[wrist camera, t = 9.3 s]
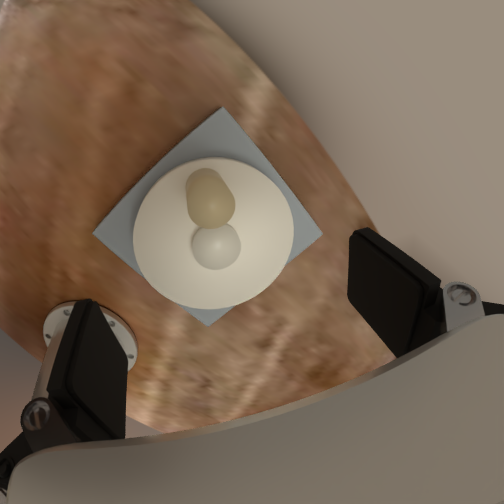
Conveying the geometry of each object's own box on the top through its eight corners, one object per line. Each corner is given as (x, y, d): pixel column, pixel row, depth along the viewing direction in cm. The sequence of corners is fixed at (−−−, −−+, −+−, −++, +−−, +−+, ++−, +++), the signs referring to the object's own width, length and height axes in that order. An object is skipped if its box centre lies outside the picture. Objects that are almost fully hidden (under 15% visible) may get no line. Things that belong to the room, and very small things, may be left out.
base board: (206, 318, 33) (208, 326, 31) (96, 227, 25) (92, 233, 23) (316, 228, 31) (322, 234, 29) (220, 106, 23) (223, 106, 21)
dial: (309, 188, 26) (348, 214, 20) (252, 308, 31) (271, 354, 25) (162, 135, 21) (155, 143, 15) (122, 279, 26) (111, 327, 20)
